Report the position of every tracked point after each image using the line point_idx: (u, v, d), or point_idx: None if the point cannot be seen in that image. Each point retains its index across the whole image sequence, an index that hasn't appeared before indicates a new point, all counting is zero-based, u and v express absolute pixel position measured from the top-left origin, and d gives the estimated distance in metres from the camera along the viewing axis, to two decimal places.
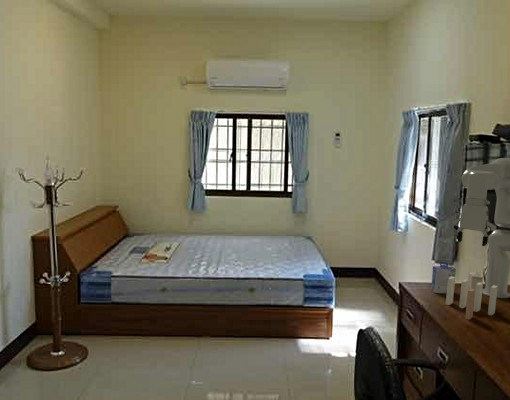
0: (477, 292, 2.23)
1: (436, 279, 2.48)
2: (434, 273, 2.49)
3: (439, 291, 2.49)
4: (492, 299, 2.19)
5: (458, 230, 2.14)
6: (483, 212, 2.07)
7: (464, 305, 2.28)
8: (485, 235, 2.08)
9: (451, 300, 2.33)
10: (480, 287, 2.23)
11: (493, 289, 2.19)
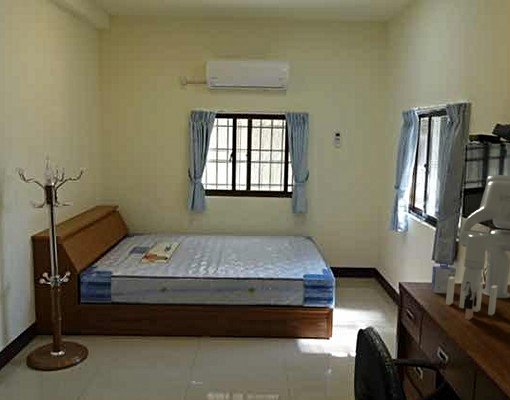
0: (477, 292, 2.23)
1: (436, 279, 2.48)
2: (434, 273, 2.49)
3: (439, 291, 2.49)
4: (492, 299, 2.19)
5: (471, 298, 2.11)
6: (481, 271, 2.15)
7: None
8: (476, 295, 2.16)
9: (451, 300, 2.33)
10: (480, 287, 2.23)
11: (493, 289, 2.19)
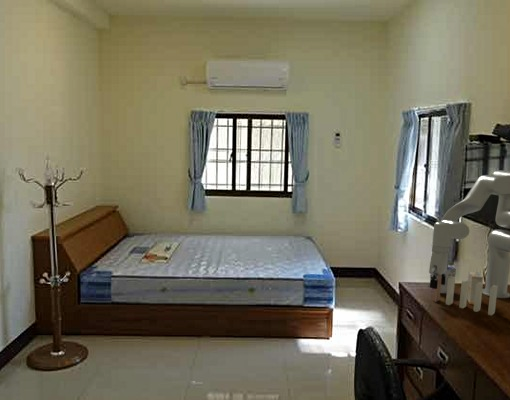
0: (477, 292, 2.23)
1: None
2: None
3: None
4: (492, 299, 2.19)
5: (436, 278, 2.31)
6: (447, 256, 2.36)
7: (464, 305, 2.28)
8: (445, 275, 2.39)
9: (451, 300, 2.33)
10: (480, 287, 2.23)
11: (493, 289, 2.19)
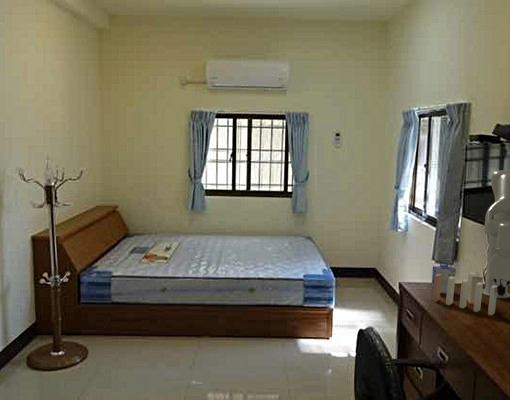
0: (477, 292, 2.23)
1: None
2: (434, 273, 2.49)
3: None
4: (492, 299, 2.19)
5: None
6: None
7: (464, 305, 2.28)
8: None
9: (451, 300, 2.33)
10: (480, 287, 2.23)
11: (493, 289, 2.19)
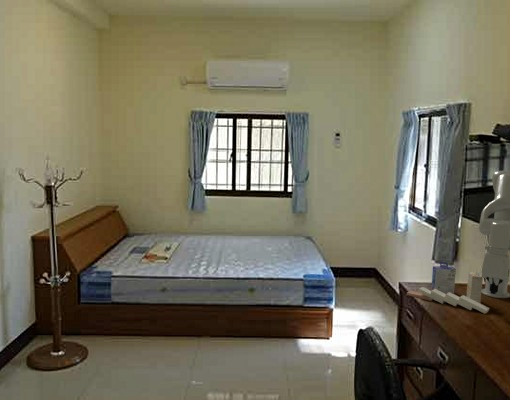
0: (452, 299, 2.30)
1: (436, 279, 2.48)
2: (434, 273, 2.49)
3: None
4: (470, 303, 2.25)
5: None
6: None
7: None
8: None
9: None
10: (450, 294, 2.32)
11: (460, 298, 2.28)
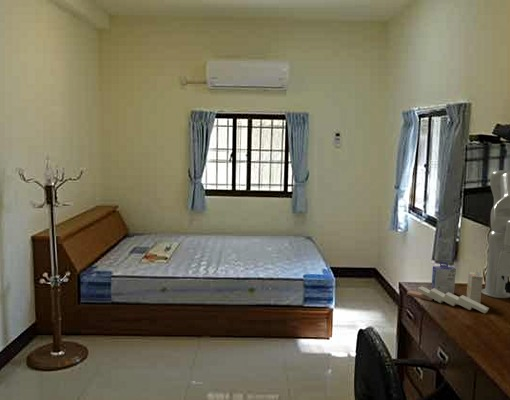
0: (452, 299, 2.30)
1: (436, 279, 2.48)
2: (434, 273, 2.49)
3: None
4: (470, 303, 2.26)
5: None
6: None
7: None
8: None
9: None
10: (449, 294, 2.32)
11: (460, 298, 2.28)
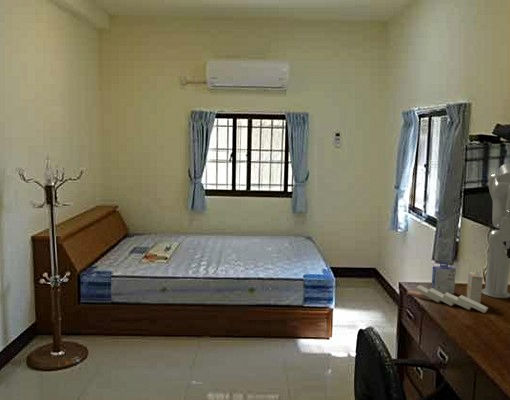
0: (451, 299, 2.30)
1: (436, 279, 2.48)
2: (434, 273, 2.49)
3: (439, 291, 2.49)
4: (469, 303, 2.26)
5: None
6: None
7: None
8: None
9: None
10: (447, 295, 2.32)
11: (459, 298, 2.28)
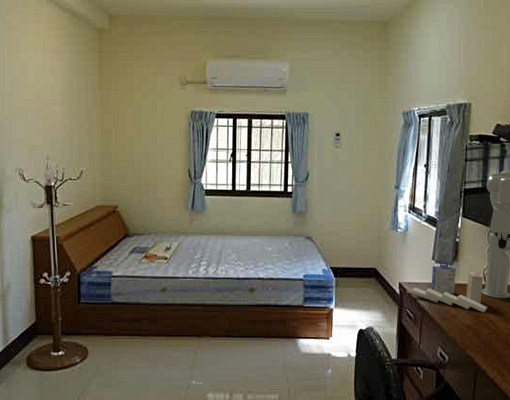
0: (449, 298, 2.31)
1: (436, 279, 2.48)
2: (434, 273, 2.49)
3: (439, 291, 2.49)
4: (468, 302, 2.27)
5: None
6: None
7: None
8: None
9: None
10: (446, 294, 2.33)
11: (458, 298, 2.29)
